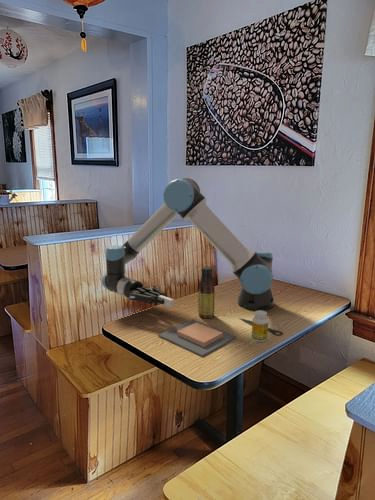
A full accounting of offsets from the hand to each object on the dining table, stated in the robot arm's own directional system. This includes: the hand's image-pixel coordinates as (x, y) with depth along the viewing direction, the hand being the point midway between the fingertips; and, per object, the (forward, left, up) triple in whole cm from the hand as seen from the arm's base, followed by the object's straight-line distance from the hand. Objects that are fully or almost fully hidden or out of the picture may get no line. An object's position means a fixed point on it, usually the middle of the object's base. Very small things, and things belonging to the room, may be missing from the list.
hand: (172, 303), depth 132 cm
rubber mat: (-6, +11, -9) cm, 15 cm away
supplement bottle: (-26, +17, -9) cm, 33 cm away
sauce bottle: (-15, -5, -9) cm, 19 cm away
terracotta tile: (-4, +6, -7) cm, 10 cm away
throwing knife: (-31, +8, -9) cm, 33 cm away
